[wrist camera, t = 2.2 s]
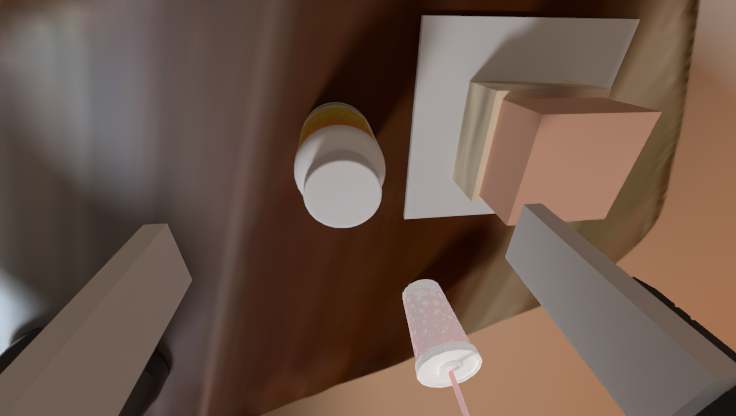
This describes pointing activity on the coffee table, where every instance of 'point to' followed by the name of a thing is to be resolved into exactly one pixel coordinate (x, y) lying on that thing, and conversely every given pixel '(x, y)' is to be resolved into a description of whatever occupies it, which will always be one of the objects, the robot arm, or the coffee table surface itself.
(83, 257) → the coffee table surface
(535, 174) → the tower top block
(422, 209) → the tower mat
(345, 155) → the supplement bottle
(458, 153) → the tower base block
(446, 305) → the beverage cup
